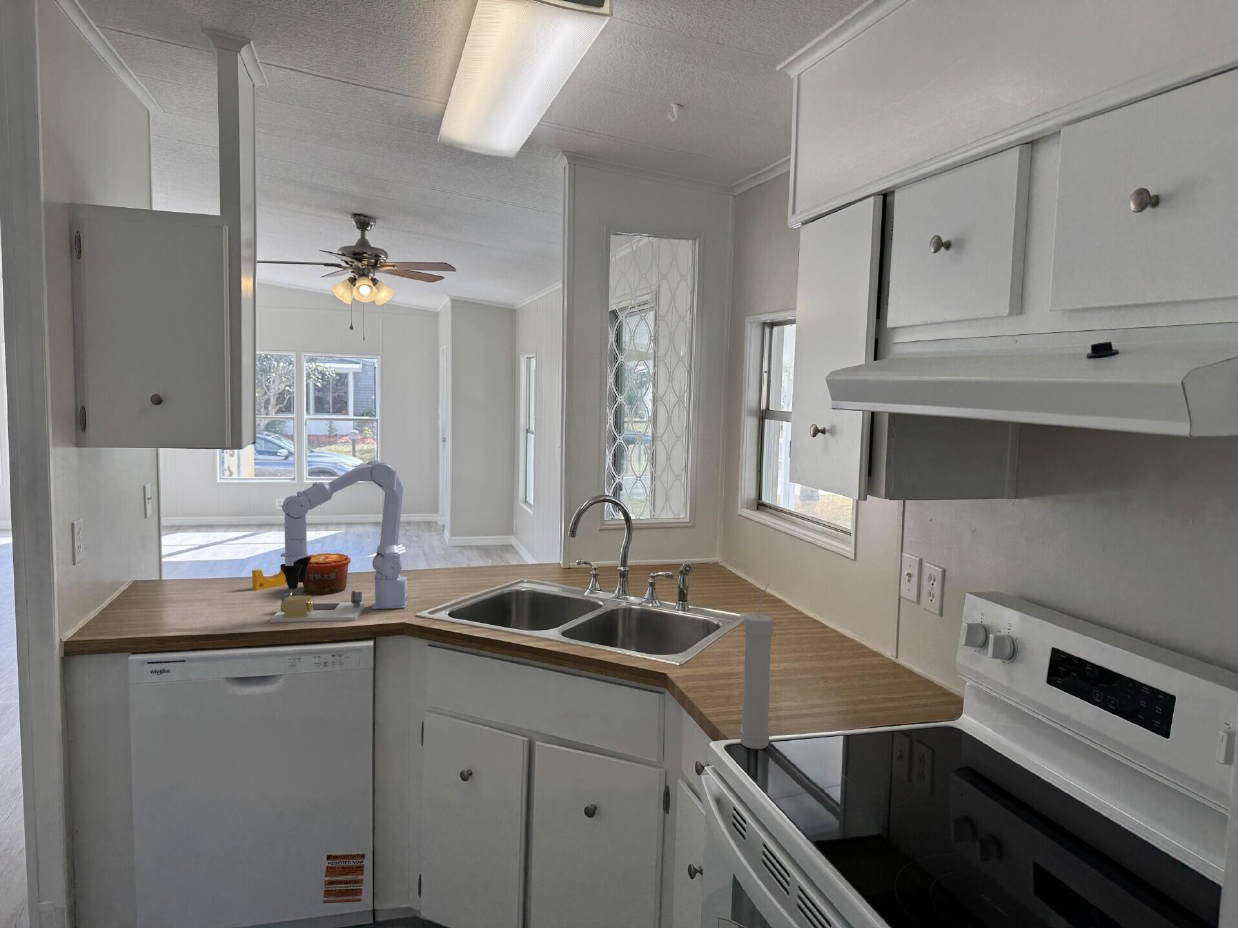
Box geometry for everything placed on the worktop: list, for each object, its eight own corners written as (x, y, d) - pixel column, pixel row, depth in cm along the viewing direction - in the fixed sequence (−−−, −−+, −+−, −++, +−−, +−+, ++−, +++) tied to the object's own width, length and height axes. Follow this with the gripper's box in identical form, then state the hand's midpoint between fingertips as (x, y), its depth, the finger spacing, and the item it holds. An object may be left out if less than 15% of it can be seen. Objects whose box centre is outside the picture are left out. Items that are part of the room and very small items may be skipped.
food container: (295, 586, 260) (295, 554, 259) (346, 582, 267) (346, 551, 266) (301, 598, 246) (300, 564, 245) (354, 592, 253) (354, 560, 252)
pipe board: (366, 605, 239) (365, 586, 239) (355, 620, 223) (355, 600, 223) (286, 606, 236) (286, 587, 236) (270, 622, 220) (270, 602, 220)
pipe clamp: (284, 582, 267) (283, 563, 266) (291, 584, 264) (290, 565, 264) (249, 588, 257) (249, 569, 257) (256, 590, 255) (256, 571, 254)
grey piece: (734, 744, 148) (739, 587, 145) (750, 733, 153) (755, 581, 150) (760, 752, 144) (766, 592, 142) (776, 741, 149) (781, 586, 147)
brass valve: (315, 612, 227) (314, 595, 226) (311, 616, 222) (310, 599, 222) (284, 613, 226) (284, 596, 225) (280, 617, 221) (279, 600, 221)
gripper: (288, 533, 229) (289, 579, 230) (273, 543, 215) (274, 592, 216) (313, 533, 230) (314, 579, 231) (300, 543, 216) (300, 591, 217)
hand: (296, 585), depth 224 cm, fingers open, 7 cm apart
